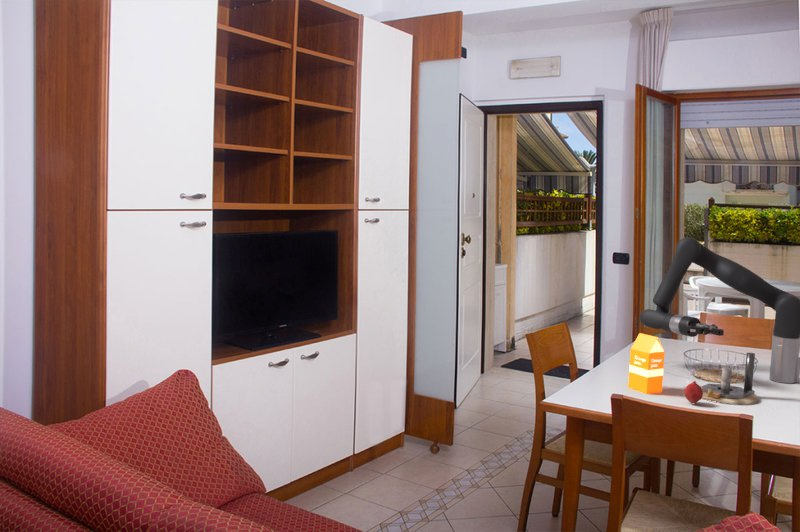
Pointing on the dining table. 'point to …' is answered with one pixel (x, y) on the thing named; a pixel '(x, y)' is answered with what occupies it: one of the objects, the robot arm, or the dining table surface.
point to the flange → (734, 390)
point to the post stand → (726, 387)
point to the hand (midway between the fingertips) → (722, 332)
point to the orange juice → (646, 364)
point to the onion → (693, 392)
